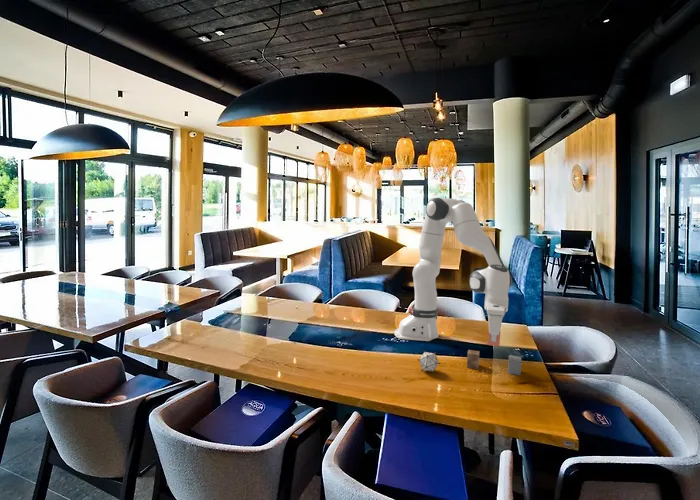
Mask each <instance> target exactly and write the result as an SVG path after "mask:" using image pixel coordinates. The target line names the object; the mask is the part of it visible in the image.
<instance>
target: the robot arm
mask: <svg viewBox="0 0 700 500" xmlns="http://www.w3.org/2000/svg"><path fill="white" fill-rule="evenodd" d="M426 203H427V204H426V205H425V206H426V207H425V213H426V214H425V217H424V220H423V223H422V227H421V234H420V238H419V245H418V248H419V258H418V259H419V260H418V262H417V263H416V264H415V265H414V267H413V269H412V278H413V279H412V280H413V288H414V306H413V307H412V306H409V307H408V311H409V313H410V314H409V315H407V316H406V317H404V318H402V319H401V320H400V322H399V325H398V328H396V329H395V330H394V336H395V337H396V338H398V339H400V340H409V341H421V342H424V341H425V342H430V341H432V340H434V339H437V338H438V337H440V334H439V331H438V324H437V323H438V321H437V320H438V308H437V307H438V306H437V305H438V304H437V302H438V299H437V298H438V292H437V285H436V283H437V282H436V278H437V277H438V275H439V274H440V270H441V263H442V262H441V261H442V249H443V242H444V235H445V231H446V226H447V224H448V223H451V224H452V225H453V226H452V227H453V230H454V233H455V237H456V239H457V240H458V242H459V243H460V244H462V245H463V246H465V247H469V248H471V249H474V250H477V251H479V252H480V253H481V254H482V255H483V256H484V258H485V261H486V263H487V265H488V266H487V267H485V268H482V269H477V270H473V272H471V274H470V275H469V279H468V285H469V287H470V289H471V291H472V292H474V293H478V294H485V296H484V305H483V306H484V310H485V311H486V314H487V318H488V319H487V320H488V321H487V322H488V330H489V333H490V334H491V336H492V338H491V341H493V342H496V337H497V335H499V333H500V334H501V328H502V323H503V318H504V316H506V315H505V314H506V313H507V312H508V310H509V291H510V288H511V286H512V283H513V277H512V275H511V274H510V270H509V269H508V268H507V267H506V266H505V264H504V262H503V260H502V258H501V255H500V253H499V252H498V249H497V247H496V245H495V243H494V242H493V240H492V239H491V237H490V236H489V235H487V233H485V231H484V230H483V228H482V226H481V224H480V221H479V218H478V215H477V213H476V211H475V209H474V207H473V206H472V204H471V203H469V202H466V201H464V200H462V199H456V198H452V197H451V198H449V197H447V198H446V197H445V198H444V197H442V198H441V197H433V198H431V199H429V200H428V202H426Z"/></svg>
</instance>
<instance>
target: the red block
mask: <svg viewBox="0 0 700 500" xmlns="http://www.w3.org/2000/svg"><path fill="white" fill-rule="evenodd" d="M491 338H492V336H491V334H490V333H489V329H488V333H487V346H493V347H500V344H501V343H500V342H501V332H500V333H499V335H497V337H496V342H493V341H491Z"/></svg>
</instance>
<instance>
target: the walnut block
mask: <svg viewBox="0 0 700 500" xmlns="http://www.w3.org/2000/svg"><path fill="white" fill-rule="evenodd" d="M466 357H467V358H466V368H469V369H476V370H478V369H479V366H480V364H479V363H480V350H473V349H468V350H467V356H466Z"/></svg>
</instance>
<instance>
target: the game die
mask: <svg viewBox="0 0 700 500" xmlns="http://www.w3.org/2000/svg"><path fill="white" fill-rule="evenodd" d="M436 354H437V352H435V353H434V352H433V353H432V352H429V351H428V352H427V351H425V350H423V353H422V354H421V357H420V358H419V359H418V358H417V359H416V360H417V361H418V362H419V364H420V367H421V370H420V372H423V371H426V372H427V371H428V372H432V374H435V370H436V368H438V365H440V364H442V363H441V362H439V360H438V357H437V355H436Z"/></svg>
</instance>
